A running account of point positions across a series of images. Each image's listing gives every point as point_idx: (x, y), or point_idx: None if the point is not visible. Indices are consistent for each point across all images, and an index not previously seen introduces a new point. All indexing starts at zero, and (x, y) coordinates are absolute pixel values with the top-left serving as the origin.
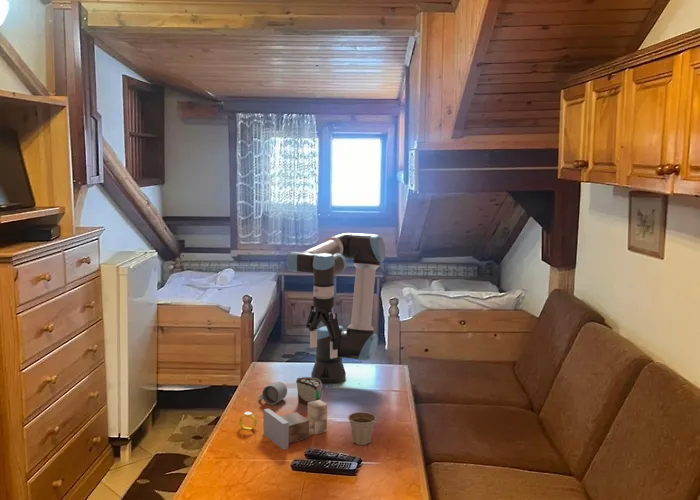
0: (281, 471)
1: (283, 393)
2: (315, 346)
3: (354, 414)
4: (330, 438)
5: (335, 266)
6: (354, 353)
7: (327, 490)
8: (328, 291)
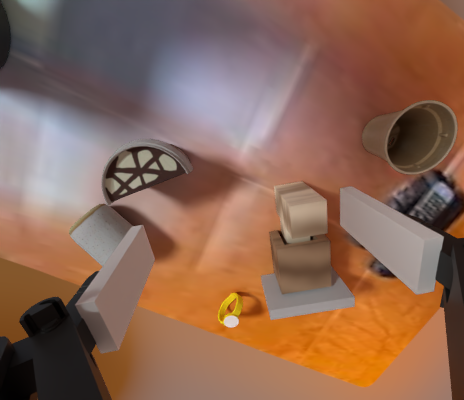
0: (389, 292)
1: (120, 221)
2: (144, 236)
3: (386, 145)
4: (334, 187)
5: None
6: None
7: None
8: None
